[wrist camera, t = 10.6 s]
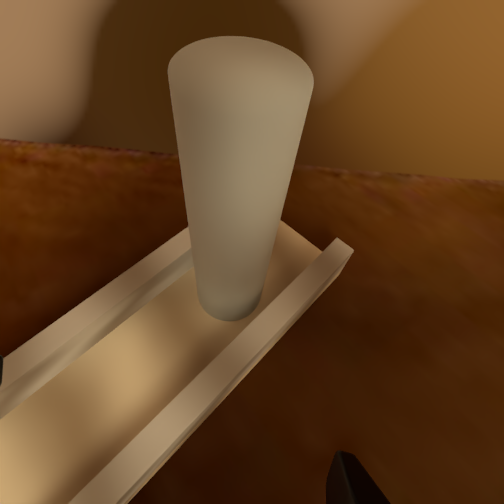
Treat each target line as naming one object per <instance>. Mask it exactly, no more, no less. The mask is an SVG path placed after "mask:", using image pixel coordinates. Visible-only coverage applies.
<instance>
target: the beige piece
mask: <svg viewBox="0 0 504 504" xmlns="http://www.w3.org/2000/svg"><path fill="white" fill-rule="evenodd" d="M168 79H169V86H170V93H171V101H172V108H173V115H174V123H175V130H176V137H177V144H178V152H179V160H180V167H181V175H182V182H183V189H184V197H185V204H186V211H187V219H188V226H189V234H190V241H191V248H192V256H193V263H194V270H195V278H196V285H197V293H198V299H199V302H200V304H201V306H202V308H203V309H204V310H205V311H206V312H207V313H208V314H209V315H210V316H212V317H214V318H216V319H218V320H222V321H237V320H240V319H243V318H245V317H247V316H248V315H250V314H251V313H252V312H253V311H254V310H255V309H256V307H257V306H258V304H259V301H260V298H261V294H262V290H263V286H264V282H265V278H266V274H267V270H268V266H269V262H270V258H271V254H272V250H273V246H274V242H275V238H276V234H277V230H278V226H279V222H280V218H281V214H282V210H283V206H284V202H285V198H286V194H287V190H288V186H289V182H290V178H291V174H292V170H293V166H294V162H295V158H296V154H297V150H298V146H299V142H300V138H301V134H302V129H303V126H304V122H305V118H306V114H307V110H308V106H309V102H310V98H311V94H312V90H313V85H314V79H313V75H312V72H311V70H310V68H309V67H308V65H307V64H306V63H305V62H304V61H303V60H302V59H301V58H300V57H299V56H297V55H296V54H295V53H293V52H292V51H290V50H288V49H286V48H284V47H282V46H280V45H277V44H275V43H272V42H268V41H265V40H261V39H256V38H250V37H242V36H222V37H214V38H207V39H203V40H199V41H196V42H194V43H191V44H189V45H187V46H185V47H184V48H182V49H181V50H180V51H178V52H177V53H176V54H175V55H174V56H173V57H172V59H171V61H170V63H169V66H168Z"/></svg>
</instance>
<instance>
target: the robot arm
mask: <svg viewBox="0 0 504 504" xmlns="http://www.w3.org/2000/svg"><path fill="white" fill-rule="evenodd" d="M3 362H4V360H3V357H2V356H1V355H0V386H1V384H2V376H3ZM326 504H390V502H389V501H388V500H387V498H386V497H385V495H384V494H383V493H382V491H381V490H380V489H379V487H378V486H377V485H376V483H375V482H374V481H373V479H372V478H371V477H370V475H369V474H368V473H367V471H366V470H365V469H364V467H363V466H362V465H361V463H360V462H359V460H358V459H357V458H356V457H355V455H353V454H351V453H348V452H344V451H341V450H339V451H337V452H336V453H335V455H334V458H333V461H332V464H331V467H330V470H329V473H328V477H327V482H326Z"/></svg>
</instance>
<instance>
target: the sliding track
mask: <svg viewBox="0 0 504 504" xmlns="http://www.w3.org/2000/svg"><path fill="white" fill-rule="evenodd" d="M353 252H354V250H353V249H352V248H351V247H349V246H348V245H346V244H345V243H344V242H342V241H341V240H340V239H338V238H336V239H335V240H334V241H333V242H332V243H331V244H330V245H329V246H328V247H327V248H326V249H325V250H324V251H323V252H322V251H321V250H319V249H318V248H317V247H315V246H314V245H313V244H311V243H310V242H309V241H308V240H306V239H305V238H304V237H302V236H301V235H300V234H298V233H297V232H296V231H294V230H293V229H292V228H291V227H289V226H288V225H287V224H285V223H284V222H283V221H281V220H280V222H279V226H278V230H277V234H276V238H275V242H274V246H273V250H272V254H271V258H270V262H269V266H268V270H267V274H266V278H265V282H264V286H263V290H262V294H261V298H260V301H259V304H258V306H257V307H256V309H255V310H254V311H253V312H252V313H251V314H250V315H248V316H247V317H245V318H243V319H240V320H237V321H222V320H218V319H216V318H214V317H212V316H210V315H209V314H208V313H207V312H206V311H205V310H204V309H203V308H202V306H201V304H200V302H199V299H198V293H197V285H196V278H195V270H194V263H193V256H192V248H191V241H190V234H189V226H188V227H187V228H185V229H184V230H183V231H181V232H180V233H178V234H177V235H176V236H174V237H173V238H171V239H170V240H169V241H167V242H166V243H164V244H163V245H162V246H160V247H159V248H157V249H156V250H155V251H153V252H152V253H150V254H149V255H148V256H146V257H145V258H143V259H142V260H141V261H139V262H138V263H136V264H135V265H134V266H132V267H131V268H129V269H128V270H127V271H125V272H124V273H122V274H121V275H120V276H118V277H117V278H115V279H114V280H113V281H111V282H110V283H108V284H107V285H106V286H104V287H103V288H101V289H100V290H99V291H97V292H96V293H94V294H93V295H92V296H90V297H89V298H87V299H86V300H85V301H83V302H82V303H80V304H79V305H78V306H76V307H75V308H73V309H72V310H71V311H69V312H68V313H66V314H65V315H64V316H62V317H61V318H59V319H58V320H57V321H55V322H54V323H52V324H51V325H50V326H48V327H47V328H45V329H44V330H43V331H41V332H40V333H38V334H37V335H36V336H34V337H33V338H31V339H30V340H29V341H27V342H26V343H24V344H23V345H22V346H20V347H19V348H17V349H16V350H15V351H13V352H12V353H10V354H9V355H8V356H6V357H5V358H3V360H4V362H3V376H2V384H1V386H0V504H128V503H129V501H130V500H131V499H132V498H133V497H134V496H135V495H136V494H137V493H138V492H139V491H140V490H141V488H142V487H143V486H144V485H145V484H146V483H147V482H148V481H149V480H150V479H151V478H152V477H153V476H154V474H155V473H156V472H157V471H158V470H159V469H160V468H161V467H162V466H163V465H164V464H165V463H166V461H167V460H168V459H169V458H170V457H171V456H172V455H173V454H174V453H175V452H176V451H177V450H178V448H179V447H180V446H181V445H182V444H183V443H184V442H185V441H186V440H187V439H188V438H189V437H190V436H191V434H192V433H193V432H194V431H195V430H196V429H197V428H198V427H199V426H200V425H201V424H202V423H203V421H204V420H205V419H206V418H207V417H208V416H209V415H210V414H211V413H212V412H213V411H214V410H215V408H216V407H217V406H218V405H219V404H220V403H221V402H222V401H223V400H224V399H225V398H226V397H227V396H228V394H229V393H230V392H231V391H232V390H233V389H234V388H235V387H236V386H237V385H238V384H239V383H240V381H241V380H242V379H243V378H244V377H245V376H246V375H247V374H248V373H249V372H250V371H251V370H252V368H253V367H254V366H255V365H256V364H257V363H258V362H259V361H260V360H261V359H262V358H263V357H264V356H265V354H266V353H267V352H268V351H269V350H270V349H271V348H272V347H273V346H274V345H275V344H276V343H277V341H278V340H279V339H280V338H281V337H282V336H283V335H284V334H285V333H286V332H287V331H288V330H289V328H290V327H291V326H292V325H293V324H294V323H295V322H296V321H297V320H298V319H299V318H300V317H301V315H302V314H303V313H304V312H305V311H306V310H307V309H308V308H309V307H310V306H311V305H312V304H313V303H314V301H315V300H316V299H317V298H318V297H319V296H320V295H321V294H322V293H323V292H324V291H325V290H326V288H327V287H328V286H329V285H330V284H331V283H332V282H333V281H334V280H335V279H336V278H337V277H338V275H339V274H340V272H341V271H342V269H343V267H344V266H345V264H346V263H347V261H348V259H349V258H350V256H351V255H352V253H353Z"/></svg>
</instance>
